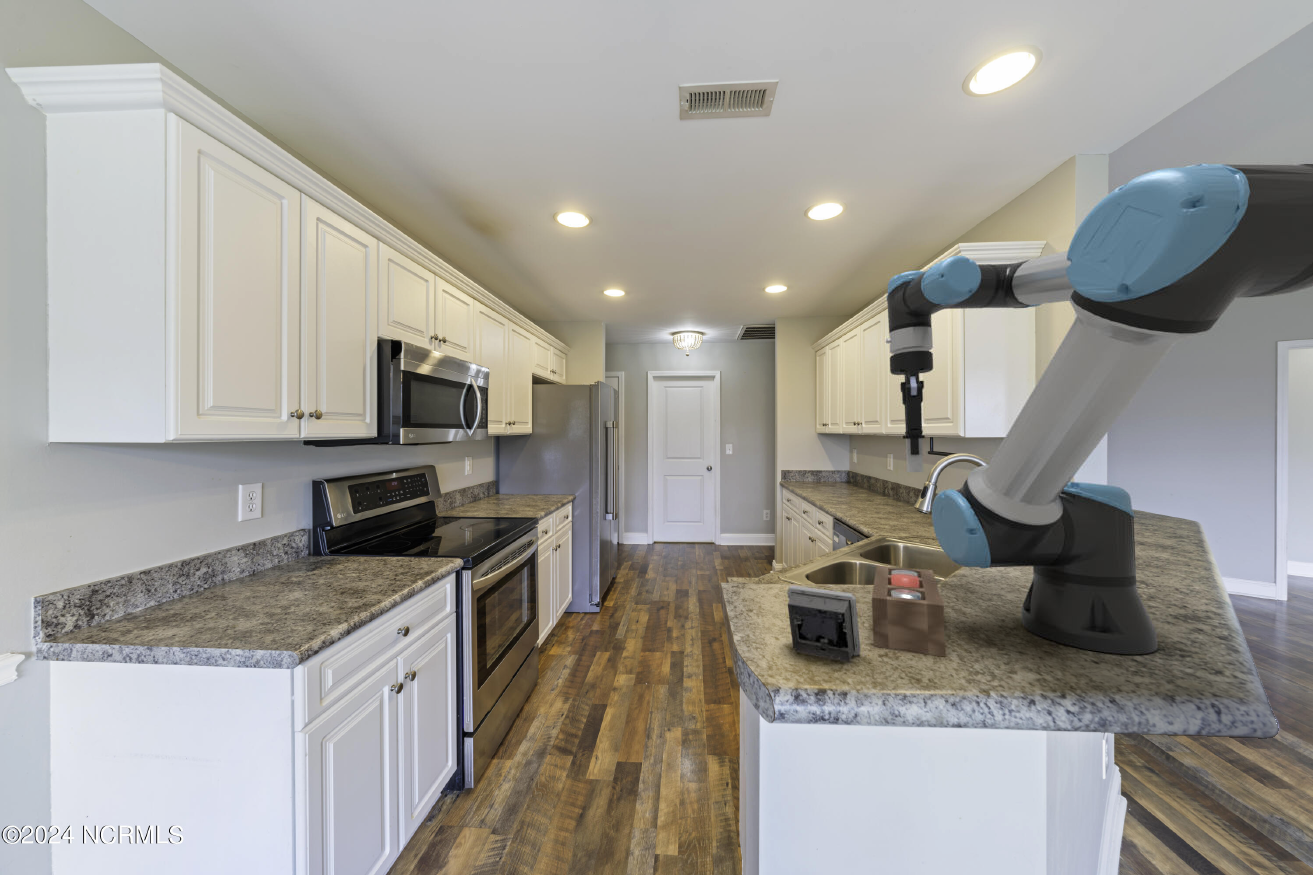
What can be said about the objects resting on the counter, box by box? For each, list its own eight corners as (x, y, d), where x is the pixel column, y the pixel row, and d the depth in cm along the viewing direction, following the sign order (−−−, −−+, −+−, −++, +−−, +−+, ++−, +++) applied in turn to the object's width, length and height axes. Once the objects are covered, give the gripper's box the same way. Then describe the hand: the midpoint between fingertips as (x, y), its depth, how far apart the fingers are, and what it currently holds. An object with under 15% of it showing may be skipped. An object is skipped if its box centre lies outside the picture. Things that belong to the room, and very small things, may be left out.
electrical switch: (861, 654, 66) (858, 589, 65) (855, 672, 61) (851, 603, 61) (795, 641, 71) (791, 580, 70) (784, 657, 66) (780, 593, 66)
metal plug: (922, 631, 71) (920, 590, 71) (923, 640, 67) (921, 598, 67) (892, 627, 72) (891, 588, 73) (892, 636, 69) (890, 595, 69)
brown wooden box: (934, 609, 83) (932, 570, 83) (945, 656, 64) (943, 605, 64) (877, 603, 87) (876, 565, 87) (873, 645, 68) (871, 597, 68)
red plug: (919, 611, 77) (918, 574, 77) (921, 619, 73) (919, 581, 73) (892, 608, 78) (891, 572, 79) (892, 616, 75) (891, 578, 75)
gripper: (889, 360, 100) (893, 470, 100) (889, 349, 89) (894, 473, 88) (929, 356, 97) (933, 470, 96) (935, 344, 85) (940, 473, 85)
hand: (915, 471), depth 92 cm, fingers closed
